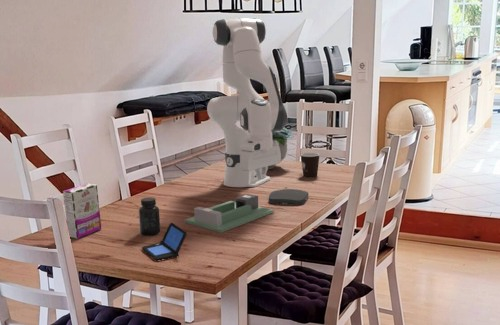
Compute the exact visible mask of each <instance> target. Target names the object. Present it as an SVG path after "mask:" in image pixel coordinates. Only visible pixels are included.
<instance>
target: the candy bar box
mask: <svg viewBox="0 0 500 325" xmlns="http://www.w3.org/2000/svg"><path fill="white" fill-rule="evenodd" d="M98 193H99V192H98V184H96V183H89V182H88V183H84V184H80V185H78V186H74V187H71V188H69V189H65V190H63V191H62V194H63V202H64V210H65V220H66V227H67V226H68V229H67V231H68V230H69V234H70V237H71V239H76V240H79V239H82V238H84V237H87V236H89V235H91V234H94V233H96V232H98V231H100V230H102V222H101V213H100V203H99V194H98ZM86 235H87V236H86ZM83 236H84V237H83ZM70 237H69V238H70ZM81 237H82V238H81ZM78 238H79V239H78Z"/></svg>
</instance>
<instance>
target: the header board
mask: <svg viewBox="0 0 500 325" xmlns="http://www.w3.org/2000/svg"><path fill="white" fill-rule="evenodd" d="M193 211H194V216H193V217H189V218H186V219H184V223H186V224H190V225H193V226H197V227H200V228H203V229H207V230H212V231H215V232H218V233H223V232H227V231H229V230H231V229H234V228H237V227H239V226H242V225H245V224H248V223H250V222H252V221H255V220H257V219H259V218H263V217H265V216H268V215H270V214H273V213H274V212H275V210H274V209H271V208H266V207H262V206H258V208H256V209H253V210H252V208H251V205H245V206H242V207H239V208H236V201H232V200H229V201H226V202H223V203H219V204H217V205H213V206H211V207H207V208H206V207H202V206H198V207H194V208H193Z"/></svg>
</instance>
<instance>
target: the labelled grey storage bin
mask: <svg viewBox="0 0 500 325" xmlns="http://www.w3.org/2000/svg"><path fill="white" fill-rule="evenodd" d="M235 203H236V208H239V207H242V206H245V205H251V208H252V210H253V209H256V208H258V207H259V195H255V194H251V193H247V194H243V195H241V196H237V197H235Z"/></svg>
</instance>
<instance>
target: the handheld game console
mask: <svg viewBox="0 0 500 325" xmlns="http://www.w3.org/2000/svg"><path fill="white" fill-rule="evenodd" d="M187 236H188V234H187V231H185V230H184V229H183V228H181V227H179V226H178V225H176V224H175V223H173V222H170V223H169V224H168V227H167V229H166V230H165V232H164V235H163V237H162V239H161V240H160V242H158V243H152V244H149V245H148V244H147V245H144V246H142V247H141V250H142V251H143V252H144V253H145V252H146V253H147V254H146V253H145V254H146V255H147V256H149V257H150V256H151V257H152V258H153V261H155V260H162V259H166V260H169V259H168V258H171V259H173V258H172V257H175V258H178V257H179V256H180V255H179V253H180V251H181V249H182V246H183V244H184V242H185V239H186V238H187ZM177 256H178V257H177ZM151 257H150V258H151ZM152 258H151V259H152ZM162 261H163V260H162Z"/></svg>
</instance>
